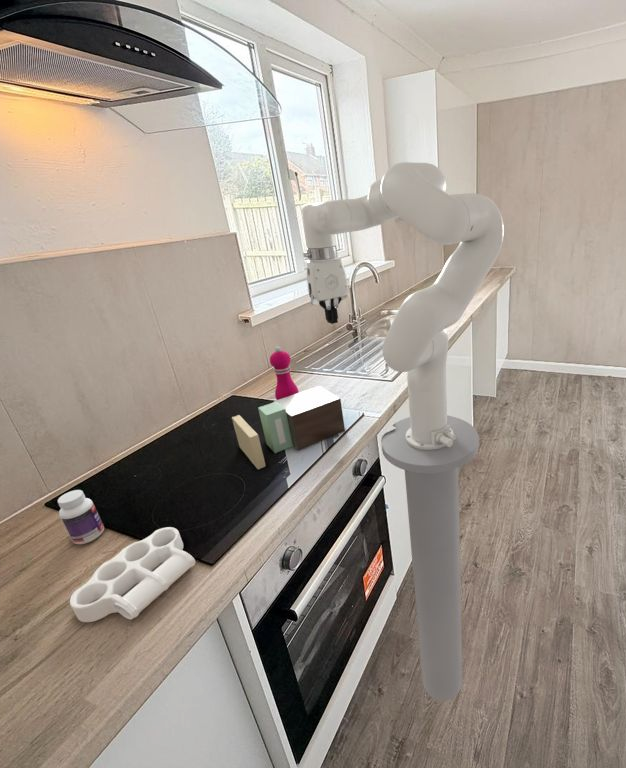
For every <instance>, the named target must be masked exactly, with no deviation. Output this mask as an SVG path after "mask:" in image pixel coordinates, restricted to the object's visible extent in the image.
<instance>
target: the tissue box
mask: <svg viewBox="0 0 626 768" xmlns="http://www.w3.org/2000/svg"><path fill="white" fill-rule="evenodd" d="M257 410H258V414H259V418H260V422H261V427H262V431H263V435H264V439H265V443H266V445H267V446H268V448H269V449H270V450H271V451H272V452H273V453H274V454H277V453H279V452H282V451H284V450H287V449H289V448H292V447H294V446H293V443H292V438H291V433H290V429H289V424H288V419H287V414H286V409H285V408H284V407H283V406H281V405H280V404H279V403H278V402H273V401H272V402H271V403H268V404H264V405H262V406H259V407H257Z"/></svg>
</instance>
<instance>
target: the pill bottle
mask: <svg viewBox="0 0 626 768" xmlns="http://www.w3.org/2000/svg"><path fill="white" fill-rule="evenodd" d="M57 504H58V506H59V508H60V509H59V511H58V516H59V518H60V520H61V522H62V524H63V526H64V528H65V530H66V531H67V534H68V536H69V538H70V540H71V542H72V544H75V545H85V544H88V543H90V542H93V541H94V540H97V538H99V537H100V536H101V535H102V534H103V533H104V531H105V526H104V523H103V521H102V519H101V516H100V514H99V512H98V510H97V508H96V506H95V504H94V502H93V500H92V499H90V497H89V498H88V497H86V495H85V493H84V491H83V490H81V489H74V490H70V491H68V492H66V493H64V494H62V495H61V496H59V497H58V499H57Z"/></svg>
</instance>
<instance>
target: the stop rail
mask: <svg viewBox="0 0 626 768" xmlns="http://www.w3.org/2000/svg"><path fill="white" fill-rule="evenodd" d="M231 420H232V424H233V428H234V431H235V435H236V439H237V442H238V447H239V448H240V450H241V451H242V452H243V453H244V454H245V456H246V457H247V458H248V459H249V461H250V462H251V463H252V464H253V466H254V467H255V468H256V469H257V470H261V469H263V468H266V466H267V465H266V461H265V457H264V453H263V449H262V445H261V441H260V436H259V434H258V433H257V432H256V431H255V430H254V428H252V426H250V425H249V423H248V422H247V421H246V420H245V419H244V418H243V417H242V416H241V415H240V414H238V415H237V414H236V415H235V416H232V417H231Z"/></svg>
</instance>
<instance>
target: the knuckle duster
mask: <svg viewBox="0 0 626 768" xmlns="http://www.w3.org/2000/svg"><path fill="white" fill-rule="evenodd" d="M183 549H184V542H183V540H182V537H181V534H180V532H179V530H178V529H177V528H175V527H173V526H167V527H166V526H165V527H161V528H158V529H156V530H154V531H153V532H152V533H151V534H150V535H148V536H147V537H145V538H143V539H142V540H139V541H135V542H132V543H131V544H129V545H127V546H126V547H123V548H122V549H121V550H120V551H119V553H118V554H116V555H115V556H114V557H113V558H111V559H109V560H107V561H104V562H103V563H102V564H100V566H99V567H97V569H96V570H94V572H93V574H92V576H91V577H90V578H89V580H88V581H86V582H85V584H83V585H82V586H80V587H78V588H77V589H75V590H74V591H73V592H72V594H71V596H70V599H69V605H70V608H71V609H72V611H73V613H74V614H75V616H76V618H77V619H78V620H79V622H81V623H93V622H96V621H99V620H102V619H104V618H105V617H107V616H109V615H110V614H115V613H119V615H121V616H122V617H124V618H126V619H127V620H129V621H131V620H133V619H135V618H137V617H138V616H139V615H140V613H141V612H143V611H144V610H145V609H146V608H147V607H148V606H149V605H150V604H151V603H152V602H154V600H156V599H157V598H158V597H159V596H160V595H161V594H163V593H164V592H165V591H167V590H168V589H170V588H169V587H171V586H172V584H174V583H175V582H176V581H177V580H178V579H179V578H180V577H181V576H183V575H184V574H185V573H186V572H188V570H190V568H193V566H195V565H196V563H197V562H196V559H195V558H194V557H193V555H191V554H190V553H188V552H187V551H185V550H183Z"/></svg>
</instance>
